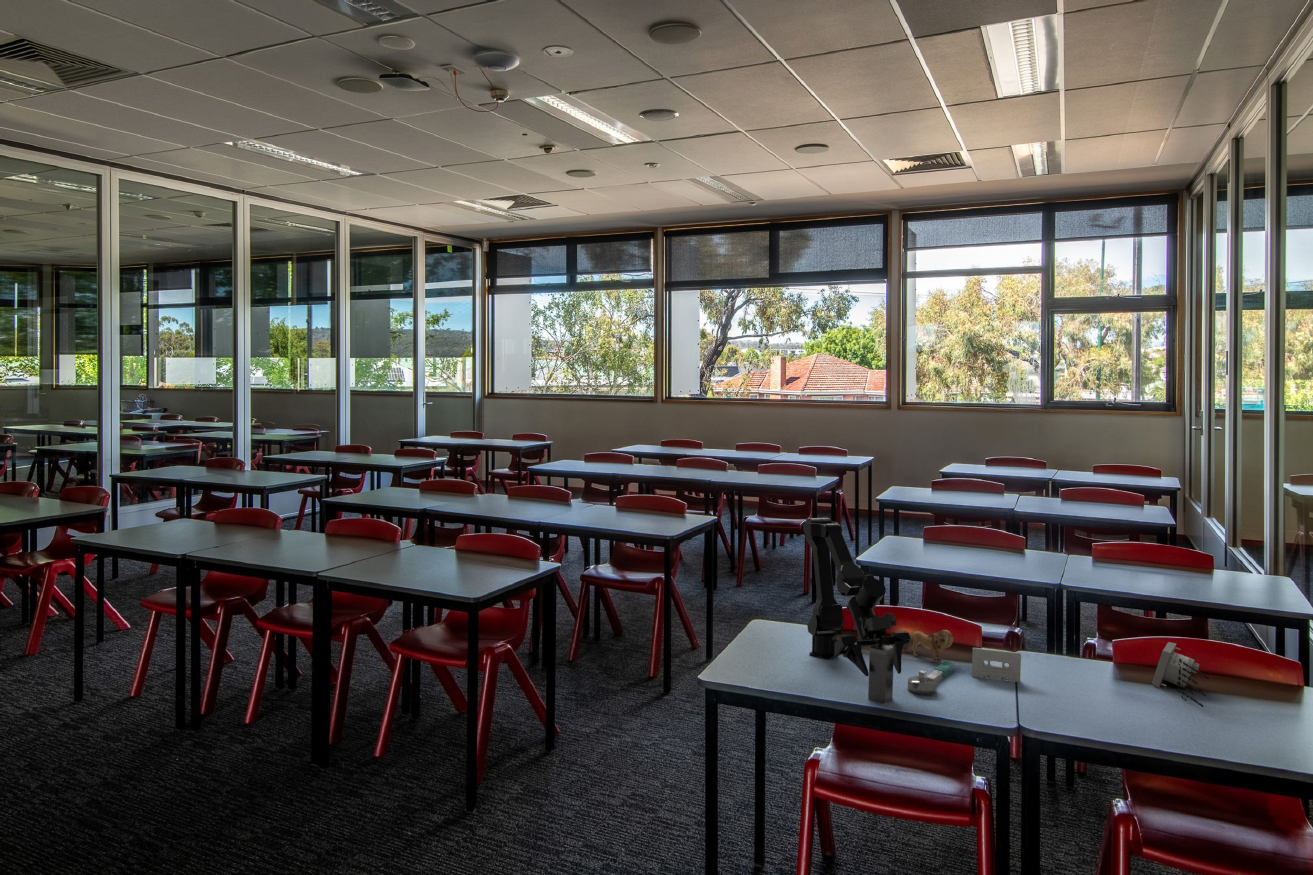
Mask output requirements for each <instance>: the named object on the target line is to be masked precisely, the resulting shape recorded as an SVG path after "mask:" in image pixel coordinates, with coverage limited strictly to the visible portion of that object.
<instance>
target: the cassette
mask: <svg viewBox="0 0 1313 875" xmlns="http://www.w3.org/2000/svg"><path fill="white" fill-rule="evenodd" d="M971 656H972V658H971V675H970V676H972V677H976V678H980V679H981V678H982V679H989V680H995V681H997V680H998V681H1004V682H1005V681H1006V682H1010V683H1011V682H1012V683H1013V682H1015V683H1020V682H1021V675H1022V674H1021V665H1022V654H1021V652H1015V651H1006V650H999V649H990V648H980V647H972V654H971ZM991 662H998V663H1001V665H997V664H991ZM1005 664H1008V665H1005Z"/></svg>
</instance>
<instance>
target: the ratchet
mask: <svg viewBox="0 0 1313 875" xmlns="http://www.w3.org/2000/svg"><path fill="white" fill-rule="evenodd" d="M954 671H955V662H952V661H949V660H948V661H947V660H944V661H943V662H942V663H940V664H939V665H938V666H936V667H935V668H934V671H932V672H931V673H929V674H928V675H927V671H926V670H922V669H920V670H919V671H918V675H916V676H915V675H914V676H910V677H908V678H907V691H908V692H909V693H911V694H913V695H916V696H917V695H918V696H922V697H923V696H924V697H931V696H935V695H936V694H937V691H938V690H937V687H938V686H937V684H938V683H939V682H941V680H943V679H945V678H946V677H947V676H949V675H950V674H951V673H952V672H954Z"/></svg>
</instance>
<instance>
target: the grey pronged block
mask: <svg viewBox="0 0 1313 875" xmlns="http://www.w3.org/2000/svg"><path fill="white" fill-rule="evenodd" d="M1176 646H1177V643H1175V642H1170V641H1168V642H1167V643H1166V645H1165V647H1164V648H1163V650H1161V654H1160V658H1159V661H1158V663H1157V666H1156V670H1155V672H1154V674H1153V677H1152V681H1151V684H1152V685H1153V686H1155V687H1157V688H1160V686H1164V687H1167V684H1164V683H1163V681H1166V682H1169V683H1171V684H1173V685H1175V686H1177V692H1178V693H1181V695H1180V697H1181V699H1182V700H1183V701H1185V702H1187V701H1188V698H1189V699H1190V700H1191V701H1193V702H1194V703H1196V704H1197V705H1198V706H1200V707H1202V708H1204V705H1203V704H1202V703H1200V702H1199V701H1197V700H1196V699H1195V698H1193V697H1192V696H1193V695H1194V692H1193V691H1192V690H1191V689H1190V688H1192V689H1193V690H1194V691H1196V692H1197V693H1199V694H1200V695H1201V696H1204V697H1206V696H1207V695H1206V693H1204V692H1203V691H1201V690H1200V689H1198V688H1197V687H1195V686H1193V685H1192V684H1191V683H1188V680H1189V681H1191V682H1192V683H1193V684H1194V685H1198V684H1199V683H1198V681H1196V680H1195V679H1193V678H1191V677H1194V678H1195V677H1196V676H1195V674H1199V675H1201V676H1202V677H1203V678H1205V679H1206V680H1209V678H1210V677H1209V676H1207V675H1206V674H1205V673H1202V672H1201V671H1199V668H1200V663H1197V662H1195V659H1193V658H1191V657H1189V656H1186V655H1183V654H1180V653H1178V652H1175V650H1178V651H1181V650H1182V649H1181V648H1179V647H1176ZM1190 676H1191V677H1190ZM1186 685H1187V686H1189V687H1190V688H1187V687H1186ZM1180 687H1181V688H1182V689H1184V690H1185V691H1187V692H1188V693H1190V694H1191V696H1190V695H1189V694H1187V693H1186V692H1184V691H1183V690H1181V688H1180ZM1182 694H1183V695H1182ZM1185 696H1186V698H1185Z"/></svg>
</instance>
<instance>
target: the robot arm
mask: <svg viewBox="0 0 1313 875" xmlns="http://www.w3.org/2000/svg"><path fill="white" fill-rule="evenodd" d="M802 526H803V533H804V535H805V540H806V542H807V543H808V546H809V547H810V548H811V550H812V557H813V567H814V578H815V579H814V580H815V587H816V598H817V600H816V602H815V604H814V606H813V608H812V617H811V618H810V620H809V621H808V623H807V632H808V633H809V634H810V635H811V636H812V638H811V651H810V652H808V653H809V655H810V656H812V657H813V656H814V657H818V658H821V659H826V660H831V659H833V658H835V657H836V656H841V655H842V657H843V658H847V659H848V660H849V661H850V662H851V663H853V664H854V666H855V667H857V669H858V670H860V671H861V673H862V674H863V675H864V676H865V677H869V668H868V667H867V663H866V661H865V658H864V656H863V653H862V648H866V647H867V648H868V647H869V648H870V647H872V646H873V645H875V644H877V643H878V644H882V645H887V646H892V647H894V661H893V668H894V669H895V671H896V673H897V674H898V675H900V674H901V673H902V654H903V651H905V650H904V649H905V648H906V647H907V646H908V645H909V643H910V642H911V641H912V642H913V640H912V639H911V636H912V635H911V634H910V633H909V632H908V631H906V630H903V631H902V630H901V631H899V630H897V631H893V632H892V633H891V635H890V636H887V637H884V636H885V635H886V634H887V631H888V630H889V631H890V630H892V627H896V626H897V618H896V616H895V614H894V612H889V613H885V614H884V615H883V616H879V615H878V614H877V615H876V614H875V611H874V608H876V606H878V604H879V603H880V601H881V600H882V599H883V597H884V595H885V594H886V593H887V592H886V590H887V589H886V586H885V584H883V582H882V581H880V580H879V579H877V578H875V577H874V576H875V575H874V574H865V573H864V570H863V569H862V568H861V567H859V566H858V565H857V564H855V562H854V559H853V556H852V555H851V553H850V550H849V547H848V545H847V542H846V539H845V537H844V535H843V529H842V525H841V524H839V522H836V521H832V520H831V518H829V517H812V518H811V517H810V518H807V520H806V522H803V525H802ZM831 558H832V560H833V563H834V566H835V568H836V571H837V576H836V579H835V582H836V588H837V591H838V592H839V594H840V595H841V596H842V597H851V598H850V599H849V600H848V602H847V605H846V606H845V607H846V611H849V612H850V614H851V617H852V621H853V623H854V625H853V626H852V627H853V631H855V632H857V635H856V634H854V633H853V634H843V630H844V629H843V628H844V625H845V618H844V615H843V614H844V613H843V606H842V605H841V603H840V604H839V603H838V602H837V600H836V599H835V591H834V582H833V581H834V580H833V570H832V562H831ZM838 636H840V637H839V638H838ZM912 642H911V643H912Z"/></svg>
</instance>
